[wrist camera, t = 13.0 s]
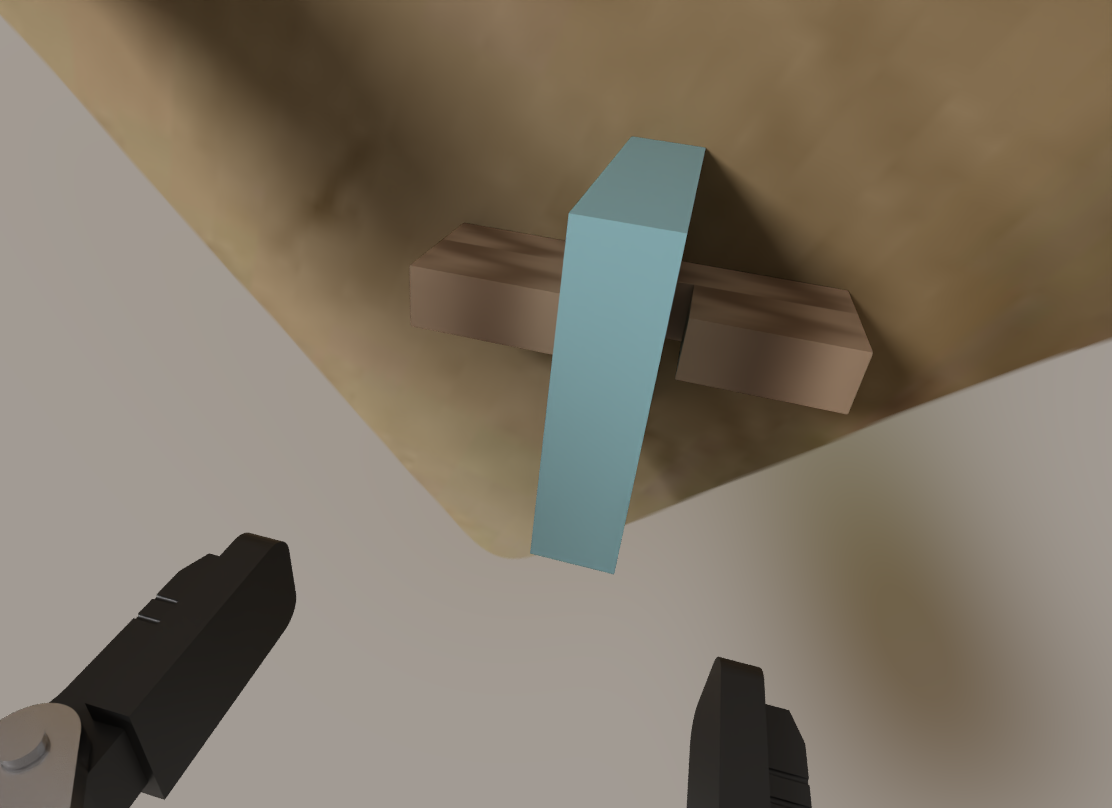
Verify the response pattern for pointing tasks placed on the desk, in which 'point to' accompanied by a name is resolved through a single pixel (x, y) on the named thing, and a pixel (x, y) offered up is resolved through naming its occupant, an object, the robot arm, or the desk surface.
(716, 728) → the robot arm
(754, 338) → the walnut slotted board
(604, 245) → the teal notched plate
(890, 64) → the desk surface
